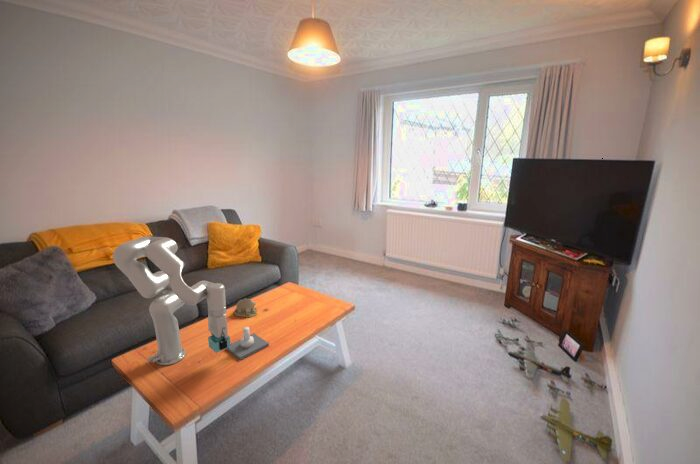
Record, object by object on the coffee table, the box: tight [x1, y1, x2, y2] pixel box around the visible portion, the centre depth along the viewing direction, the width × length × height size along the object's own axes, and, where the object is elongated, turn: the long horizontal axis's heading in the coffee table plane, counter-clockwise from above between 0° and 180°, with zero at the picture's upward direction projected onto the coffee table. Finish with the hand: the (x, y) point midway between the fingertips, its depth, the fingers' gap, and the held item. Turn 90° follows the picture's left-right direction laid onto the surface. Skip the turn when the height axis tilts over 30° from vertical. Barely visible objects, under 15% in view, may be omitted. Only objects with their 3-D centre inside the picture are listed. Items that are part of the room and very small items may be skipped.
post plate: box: [225, 326, 270, 361], centre depth 159 cm, size 16×14×10 cm
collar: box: [207, 333, 231, 354], centre depth 146 cm, size 7×7×5 cm
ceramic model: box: [233, 297, 258, 318], centre depth 194 cm, size 14×11×10 cm
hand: (219, 344), depth 147 cm, fingers closed on collar, 7 cm apart
